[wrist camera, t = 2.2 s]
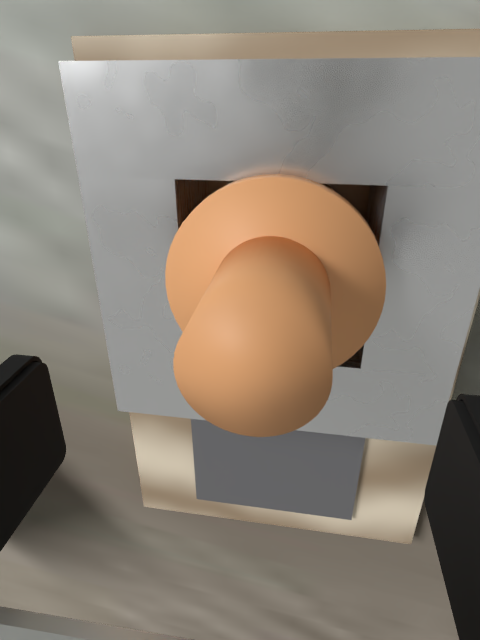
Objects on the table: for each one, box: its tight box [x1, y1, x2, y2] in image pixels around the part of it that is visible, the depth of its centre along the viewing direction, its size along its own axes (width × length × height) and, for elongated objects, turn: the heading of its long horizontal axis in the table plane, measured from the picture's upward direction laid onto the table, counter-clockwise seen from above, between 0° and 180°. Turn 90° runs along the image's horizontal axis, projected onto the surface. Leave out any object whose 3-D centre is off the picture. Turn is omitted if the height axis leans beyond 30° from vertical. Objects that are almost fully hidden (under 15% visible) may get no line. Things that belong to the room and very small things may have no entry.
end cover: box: [165, 174, 386, 437], centre depth 16 cm, size 8×8×11 cm
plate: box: [58, 29, 480, 544], centre depth 22 cm, size 28×18×6 cm, turn 0°
